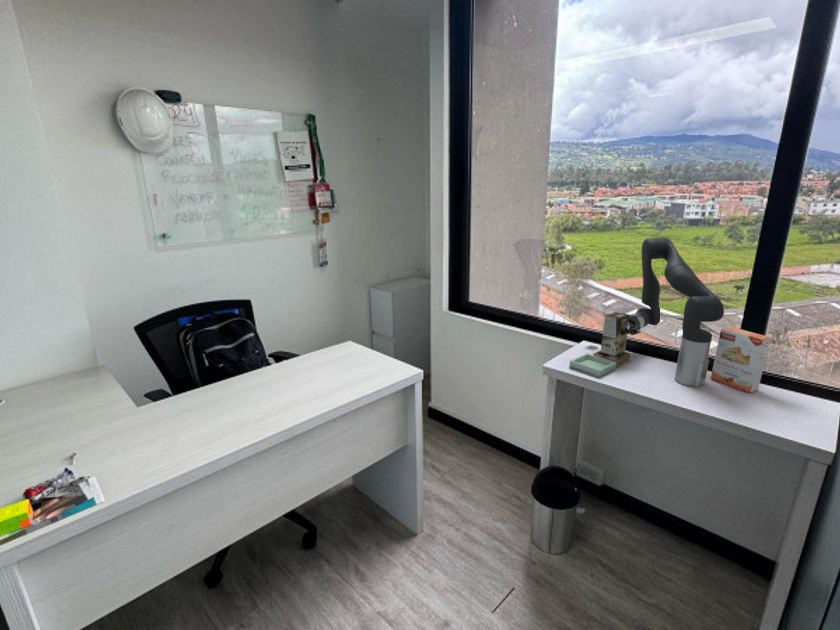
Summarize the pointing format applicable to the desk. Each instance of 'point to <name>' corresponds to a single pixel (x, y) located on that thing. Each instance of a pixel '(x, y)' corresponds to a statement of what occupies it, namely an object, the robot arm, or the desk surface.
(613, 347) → the coffee box
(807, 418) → the desk surface
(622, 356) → the brown tray
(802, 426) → the desk surface
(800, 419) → the desk surface
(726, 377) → the cracker box
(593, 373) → the sage tray
